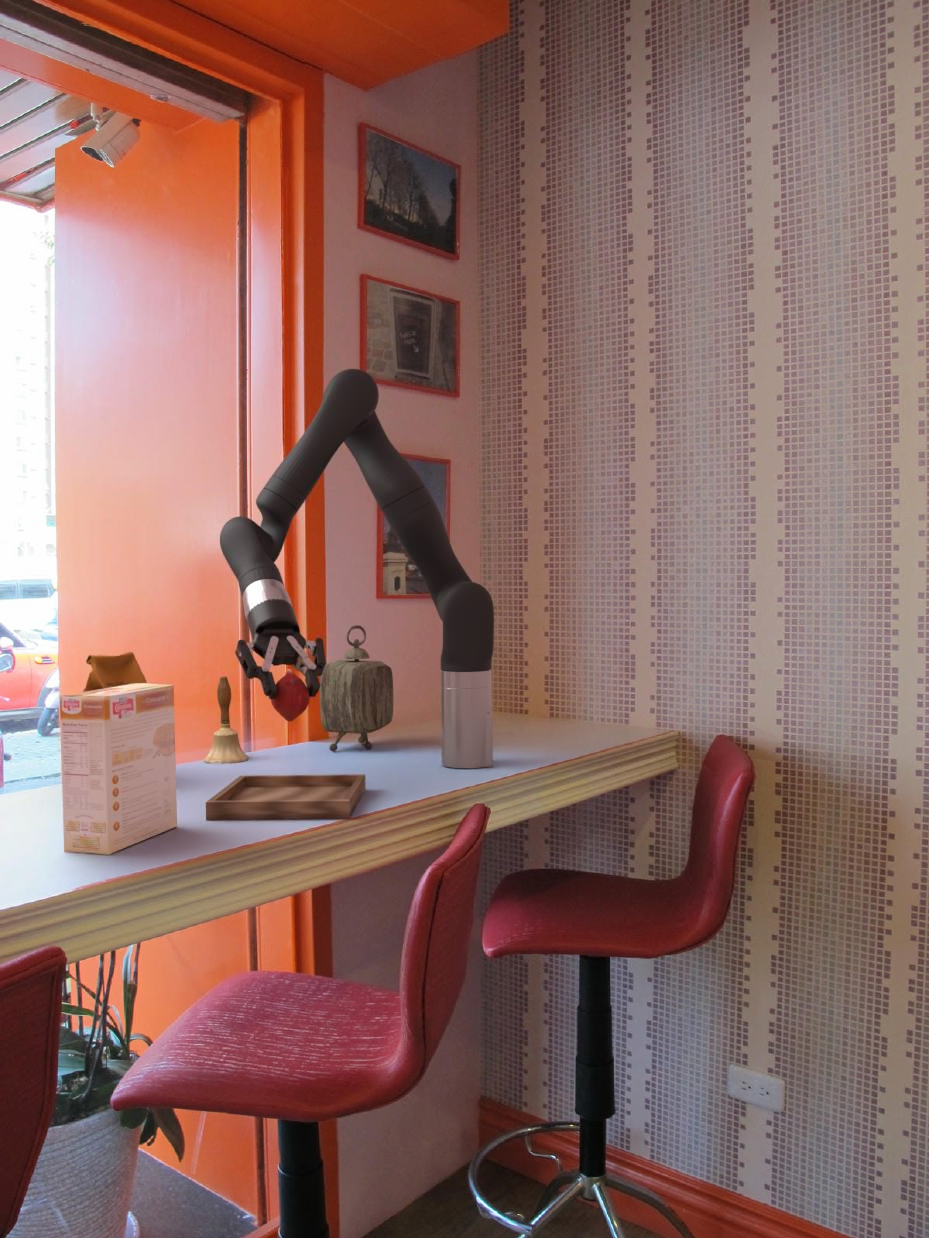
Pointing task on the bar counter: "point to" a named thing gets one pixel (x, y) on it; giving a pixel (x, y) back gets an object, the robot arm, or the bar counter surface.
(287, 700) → the onion
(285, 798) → the walnut tray
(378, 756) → the bar counter surface
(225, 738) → the hand bell
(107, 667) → the coffee package
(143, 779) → the coffeecake box
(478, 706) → the robot arm
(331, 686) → the tabletop clock
